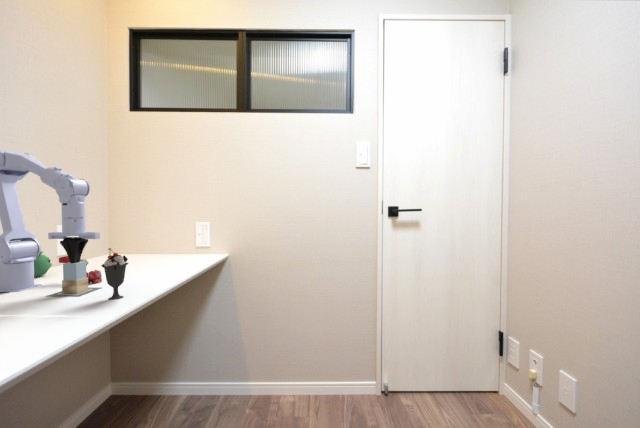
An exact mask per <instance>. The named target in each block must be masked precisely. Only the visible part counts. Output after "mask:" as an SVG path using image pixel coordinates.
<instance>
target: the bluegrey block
mask: <svg viewBox="0 0 640 428" xmlns="http://www.w3.org/2000/svg"><path fill="white" fill-rule="evenodd" d="M86 272H87V266H86V261H80V262H77V263H70V262H69V263H62V274H63V275H62V277H63V278H62V279H63V280H80V279H83V278H86Z"/></svg>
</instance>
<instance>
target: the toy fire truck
mask: <svg viewBox="0 0 640 428" xmlns="http://www.w3.org/2000/svg"><path fill="white" fill-rule="evenodd" d="M80 261H86V267H87V265H89V261H88V260H87V259H85V258H84V259H83V258H80ZM69 262H70V260H69V257H68V255H65V256H61V257H59V258H58V263H59V264H65V263H69ZM86 277H88V285H89V284H91V285H93V284H94V285H95V284H96V285H97V284H100V283H102V282H103V278H102V277H103V275H102V272H101V270H97V269H95V270H90V271H89V272H88V271H86Z"/></svg>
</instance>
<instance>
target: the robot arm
mask: <svg viewBox="0 0 640 428" xmlns="http://www.w3.org/2000/svg"><path fill="white" fill-rule="evenodd" d="M29 173H32V174H34V175H36V176H38V177H40V178H39V179H40V180H41V182H42V183H43V184H45V185H47V186H48V187H50V188H52V189H53V190H55V192H56V194H57V196H58V199H59V200H58V201H59V203H60V204H61V231H59V232H58V231H57V232H56V231H54V232H48V233H47V237H48V240H55V239H57V240H58V239H59V240H60V241H59V244H60V246H62V247H63V249H64V251H65V252H66V256H68V257H69V260H70V263H77V262H80V259H82V258H81V257H82V253H83V252H84V249H85V247H86V245H87V244H88V242H89V240H91V239H92V240H99V239H101V232H98V231H97V232H95V231H93V232H92V231H87V230H86V226H87V225H86V221H87V220H86V197H87V196H88V195H89V194H90V190H91V187H90V184H89V182H88V181H87V180H86V179H84V178H75V177H74V176H73V174H69V173H66V172H65V171H63V169H62V168H61V167H60V166H59V167H58V166H50V167H49V166H47V165H46V164H44V163H43V162H41V161H39V160H38V159H36V157H35V156H34V155H31V154H30V153H27V152H24V153H23V152H19V151H18V152H17V151H11V150H2V149H0V223H1V228H2V232H3V233H1V234H0V293H11V292H13V293H15V292H24V291H26V290H31V289H34V288H38V287H42V286H43V284H39V283H38V284H37V283H35V277H34V260H36V257H37V256H38V255H39V254H40V251H42V250H41V249H42V247H41V244H40V242H39V241H38V239H37V237H36V234H34V233H32V232H31V231H29V230H28V229H27V228H26V225H25V220H24V214H23V210H22V206H21V203H20V199H19V194H18V188H17V185H16V183H17V182H18V181H21V180H23V179H24V178H25V177H26V176H27V175H28V174H29Z"/></svg>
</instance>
